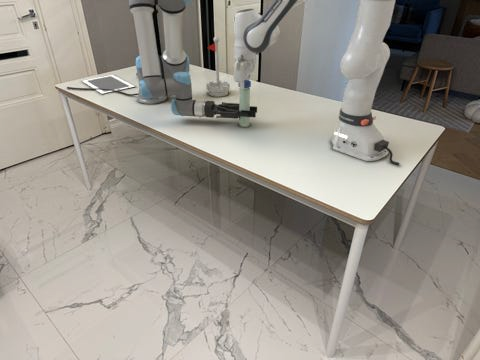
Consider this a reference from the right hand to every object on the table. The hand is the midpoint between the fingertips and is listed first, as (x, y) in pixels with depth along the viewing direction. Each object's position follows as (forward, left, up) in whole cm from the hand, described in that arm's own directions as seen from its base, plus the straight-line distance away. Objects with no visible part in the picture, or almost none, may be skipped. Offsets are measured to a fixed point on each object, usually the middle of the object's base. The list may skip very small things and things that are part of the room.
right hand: (244, 86), depth 146 cm
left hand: (-4, -4, -11) cm, 12 cm away
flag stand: (+43, -14, -18) cm, 49 cm away
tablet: (+97, +31, -18) cm, 104 cm away
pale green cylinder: (0, 0, -18) cm, 18 cm away
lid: (0, 0, +2) cm, 2 cm away
